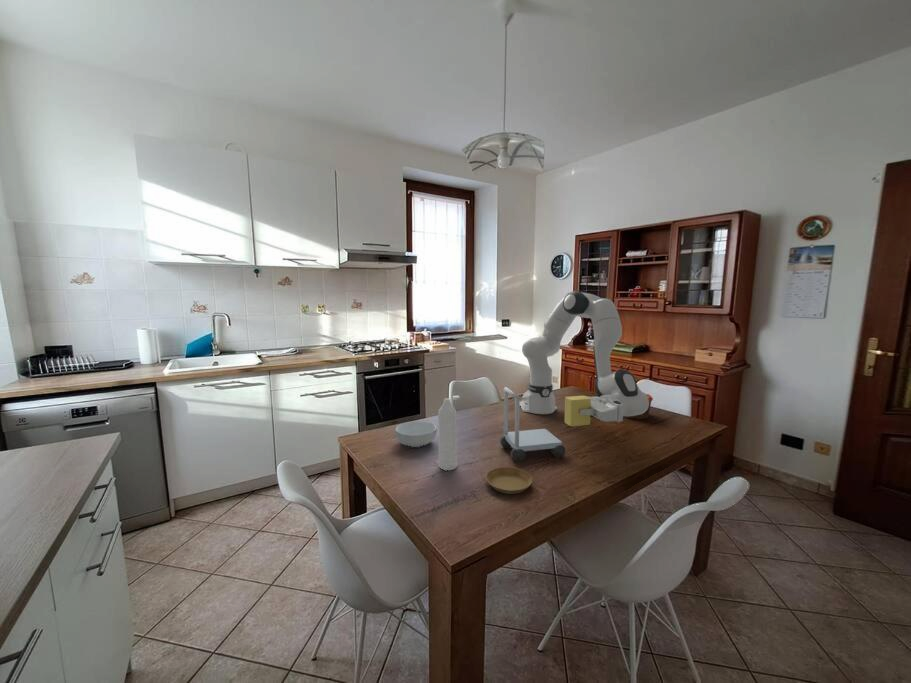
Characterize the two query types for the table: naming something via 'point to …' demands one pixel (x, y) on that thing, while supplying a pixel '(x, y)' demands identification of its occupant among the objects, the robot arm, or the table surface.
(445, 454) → the water bottle
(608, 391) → the robot arm
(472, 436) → the table surface
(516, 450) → the trolley
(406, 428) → the cereal bowl
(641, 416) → the food container
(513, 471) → the plant saucer
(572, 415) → the yellow rectangular block
